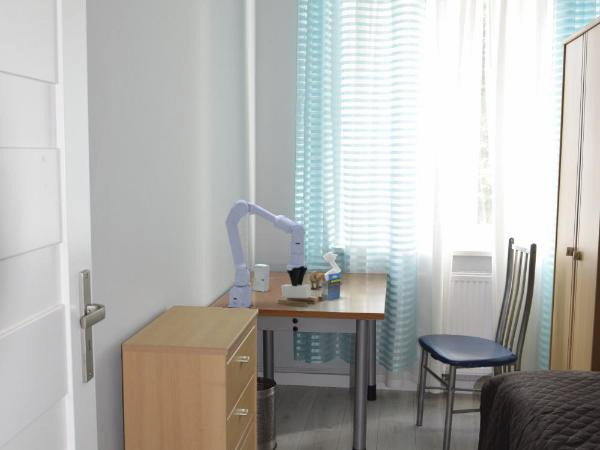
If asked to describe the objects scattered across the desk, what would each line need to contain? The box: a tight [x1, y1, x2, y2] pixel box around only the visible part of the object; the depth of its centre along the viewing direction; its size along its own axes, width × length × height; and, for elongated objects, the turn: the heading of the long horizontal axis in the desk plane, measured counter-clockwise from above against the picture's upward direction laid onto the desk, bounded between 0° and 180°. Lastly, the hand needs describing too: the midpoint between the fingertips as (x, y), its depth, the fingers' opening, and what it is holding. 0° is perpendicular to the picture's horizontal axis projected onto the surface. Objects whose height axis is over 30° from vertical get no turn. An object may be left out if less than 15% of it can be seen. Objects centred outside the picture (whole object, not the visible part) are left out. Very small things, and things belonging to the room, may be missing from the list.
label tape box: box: [320, 272, 342, 301], centre depth 313 cm, size 9×4×12 cm, turn 141°
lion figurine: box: [309, 270, 326, 290], centre depth 345 cm, size 15×5×9 cm, turn 159°
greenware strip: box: [280, 284, 312, 299], centre depth 301 cm, size 4×12×5 cm, turn 61°
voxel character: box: [322, 251, 342, 283], centre depth 356 cm, size 7×12×15 cm
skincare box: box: [253, 263, 270, 293], centre depth 335 cm, size 6×4×12 cm
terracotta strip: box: [305, 295, 318, 302], centre depth 308 cm, size 3×11×2 cm, turn 61°
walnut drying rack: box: [276, 294, 326, 308], centre depth 305 cm, size 17×14×3 cm
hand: (296, 285), depth 301 cm, fingers closed on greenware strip, 3 cm apart
